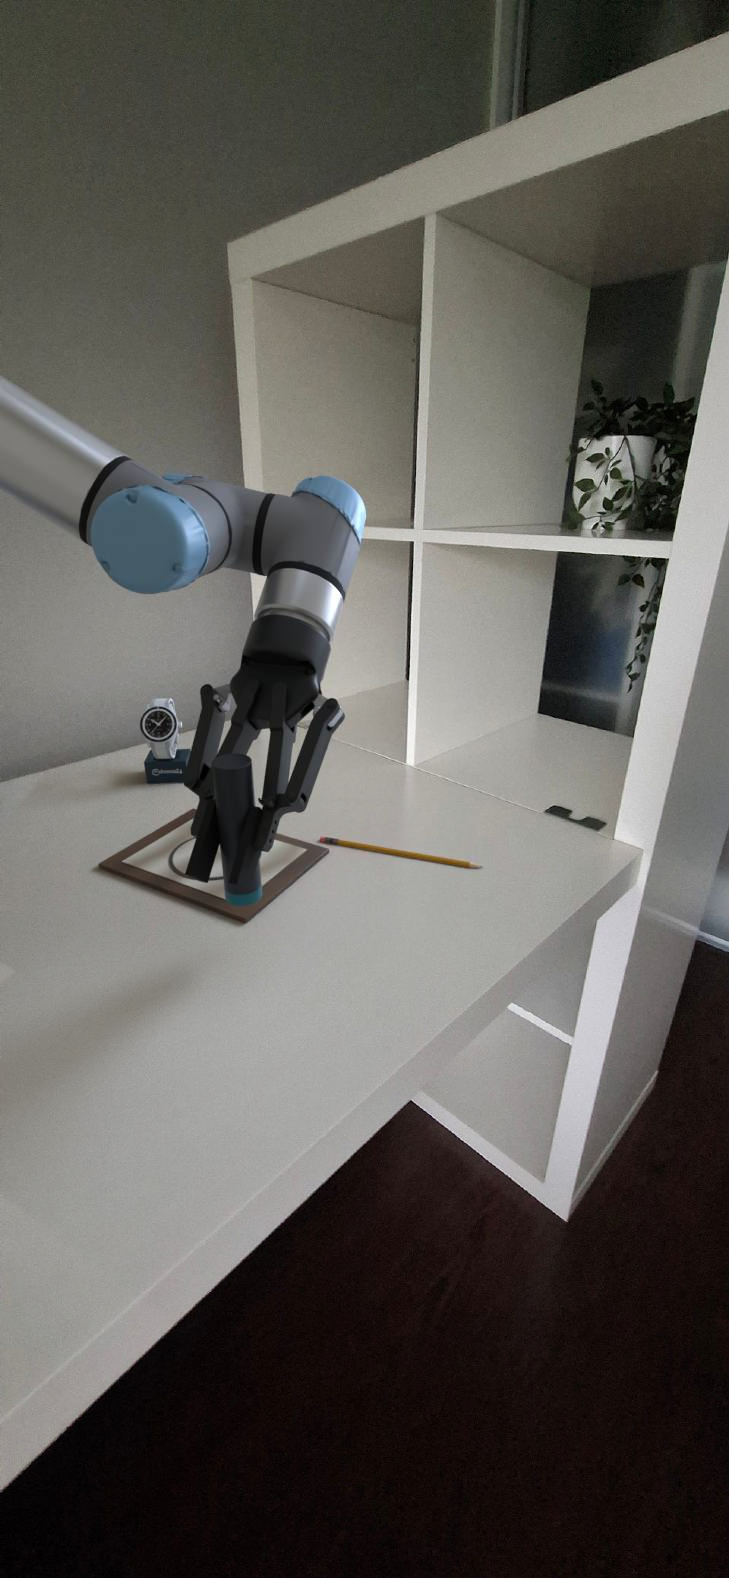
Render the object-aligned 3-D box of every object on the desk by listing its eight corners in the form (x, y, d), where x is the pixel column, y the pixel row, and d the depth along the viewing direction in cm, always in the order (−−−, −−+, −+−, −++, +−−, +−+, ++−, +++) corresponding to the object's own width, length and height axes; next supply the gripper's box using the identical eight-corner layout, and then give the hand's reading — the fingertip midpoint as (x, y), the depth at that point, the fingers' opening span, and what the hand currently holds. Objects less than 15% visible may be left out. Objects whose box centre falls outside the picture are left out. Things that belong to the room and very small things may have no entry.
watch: (144, 789, 92) (132, 711, 87) (155, 765, 99) (145, 691, 94) (186, 788, 92) (177, 710, 87) (195, 764, 99) (186, 690, 94)
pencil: (319, 843, 80) (319, 837, 79) (321, 840, 80) (321, 834, 80) (483, 872, 74) (483, 865, 74) (484, 868, 75) (484, 862, 74)
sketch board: (98, 867, 74) (97, 862, 74) (193, 811, 86) (192, 806, 86) (246, 923, 65) (245, 917, 65) (329, 852, 77) (329, 846, 77)
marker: (217, 899, 60) (202, 764, 54) (240, 881, 63) (228, 750, 57) (247, 910, 59) (234, 772, 53) (269, 891, 61) (260, 757, 56)
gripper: (385, 663, 64) (323, 910, 57) (229, 648, 68) (154, 875, 61) (367, 616, 57) (294, 891, 50) (195, 604, 62) (107, 854, 55)
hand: (217, 882), depth 56 cm, fingers closed on marker, 3 cm apart
